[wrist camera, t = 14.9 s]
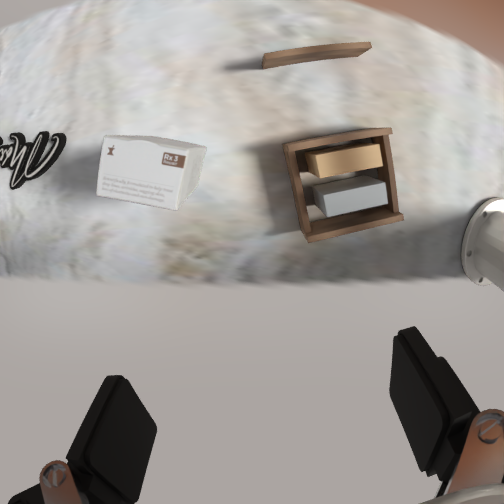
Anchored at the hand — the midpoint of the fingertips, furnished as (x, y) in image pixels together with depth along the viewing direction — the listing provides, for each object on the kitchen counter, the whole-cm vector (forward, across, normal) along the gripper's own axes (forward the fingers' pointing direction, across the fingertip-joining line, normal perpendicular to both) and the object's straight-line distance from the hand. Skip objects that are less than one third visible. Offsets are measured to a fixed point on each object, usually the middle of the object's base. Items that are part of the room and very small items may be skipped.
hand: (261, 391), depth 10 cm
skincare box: (+24, +7, -8) cm, 26 cm away
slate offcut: (+24, -9, -1) cm, 26 cm away
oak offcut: (+24, -9, -4) cm, 26 cm away
